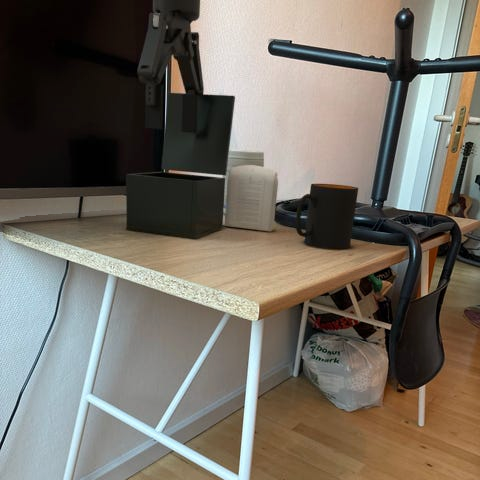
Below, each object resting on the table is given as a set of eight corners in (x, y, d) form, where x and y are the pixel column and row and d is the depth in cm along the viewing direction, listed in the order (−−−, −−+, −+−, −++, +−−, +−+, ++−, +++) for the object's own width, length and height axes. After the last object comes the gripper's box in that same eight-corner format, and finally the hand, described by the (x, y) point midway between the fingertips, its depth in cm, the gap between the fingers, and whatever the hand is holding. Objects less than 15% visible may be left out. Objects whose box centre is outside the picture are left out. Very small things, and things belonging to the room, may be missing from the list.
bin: (194, 239, 85) (197, 181, 81) (126, 229, 89) (125, 174, 85) (222, 228, 97) (225, 177, 94) (161, 220, 101) (162, 171, 97)
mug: (279, 242, 88) (284, 182, 84) (328, 239, 94) (335, 183, 91) (308, 251, 81) (316, 188, 78) (359, 247, 88) (368, 188, 84)
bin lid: (234, 95, 90) (235, 96, 91) (168, 92, 94) (170, 93, 95) (224, 175, 93) (226, 175, 94) (161, 169, 97) (163, 169, 98)
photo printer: (275, 229, 100) (281, 167, 96) (271, 232, 96) (277, 167, 92) (227, 224, 103) (231, 163, 98) (221, 227, 99) (225, 163, 94)
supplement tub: (246, 211, 124) (250, 150, 119) (267, 217, 117) (273, 152, 112) (213, 211, 119) (216, 148, 114) (233, 217, 112) (237, 150, 107)
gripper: (161, -40, 65) (157, 128, 73) (226, 10, 88) (218, 135, 95) (113, -39, 68) (114, 124, 75) (188, 9, 90) (183, 132, 97)
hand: (172, 131), depth 85 cm, fingers open, 13 cm apart
